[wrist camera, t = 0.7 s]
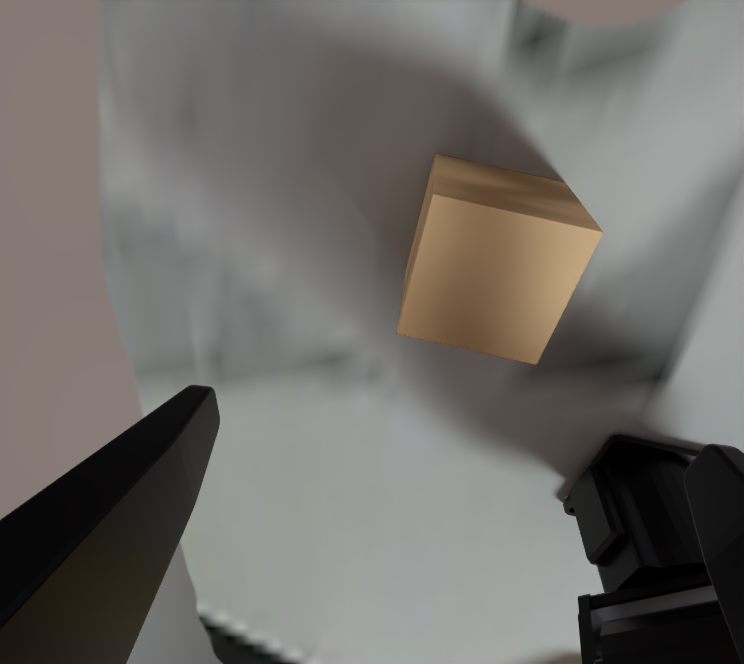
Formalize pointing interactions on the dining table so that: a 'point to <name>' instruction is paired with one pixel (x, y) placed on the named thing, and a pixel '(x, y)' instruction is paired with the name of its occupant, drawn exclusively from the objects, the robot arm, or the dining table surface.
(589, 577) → the dining table surface
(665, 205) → the dining table surface
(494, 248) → the oak cube
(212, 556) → the dining table surface
